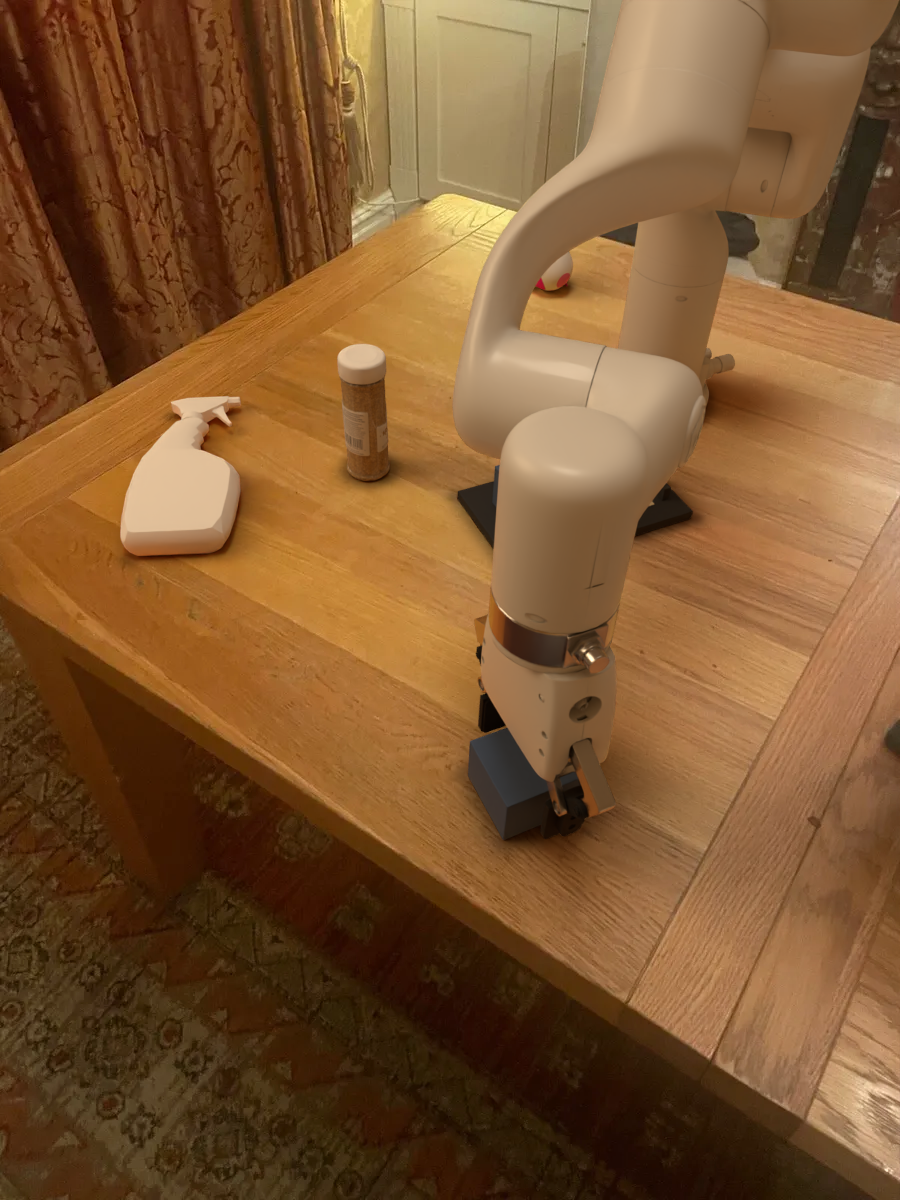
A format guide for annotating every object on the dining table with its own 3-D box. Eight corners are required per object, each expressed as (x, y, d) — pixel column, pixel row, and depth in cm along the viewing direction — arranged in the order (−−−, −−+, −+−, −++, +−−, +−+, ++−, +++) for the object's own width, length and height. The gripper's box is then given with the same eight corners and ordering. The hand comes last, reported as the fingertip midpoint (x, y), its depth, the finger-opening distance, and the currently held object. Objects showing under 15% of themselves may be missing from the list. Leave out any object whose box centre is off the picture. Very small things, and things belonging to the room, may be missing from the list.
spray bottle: (116, 560, 84) (157, 412, 101) (235, 555, 85) (255, 409, 102) (108, 535, 82) (151, 389, 99) (230, 531, 83) (251, 386, 100)
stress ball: (525, 297, 127) (501, 261, 123) (573, 262, 125) (550, 224, 121) (540, 322, 122) (515, 285, 117) (591, 285, 120) (567, 247, 115)
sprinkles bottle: (398, 473, 94) (394, 358, 84) (360, 488, 92) (351, 372, 82) (376, 450, 97) (370, 336, 87) (338, 464, 95) (328, 350, 85)
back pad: (548, 744, 71) (554, 709, 67) (587, 806, 67) (595, 772, 64) (467, 775, 69) (469, 740, 65) (503, 840, 65) (507, 807, 62)
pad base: (626, 451, 97) (634, 408, 93) (691, 518, 90) (703, 474, 86) (457, 498, 91) (458, 454, 87) (511, 575, 84) (515, 530, 80)
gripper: (690, 694, 49) (637, 854, 61) (538, 507, 60) (519, 674, 72) (570, 740, 47) (539, 896, 59) (435, 536, 58) (432, 703, 70)
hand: (528, 774), depth 66 cm, fingers open, 9 cm apart
